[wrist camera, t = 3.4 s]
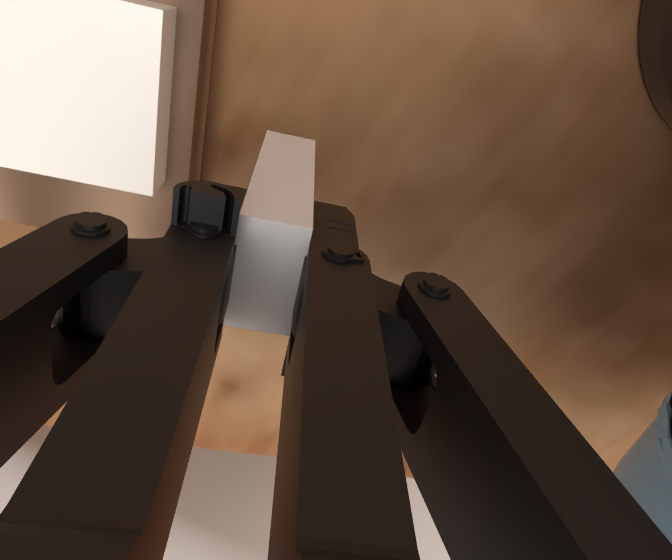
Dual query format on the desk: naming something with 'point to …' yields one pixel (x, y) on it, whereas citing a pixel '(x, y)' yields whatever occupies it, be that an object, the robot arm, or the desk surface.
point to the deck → (182, 152)
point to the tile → (87, 90)
